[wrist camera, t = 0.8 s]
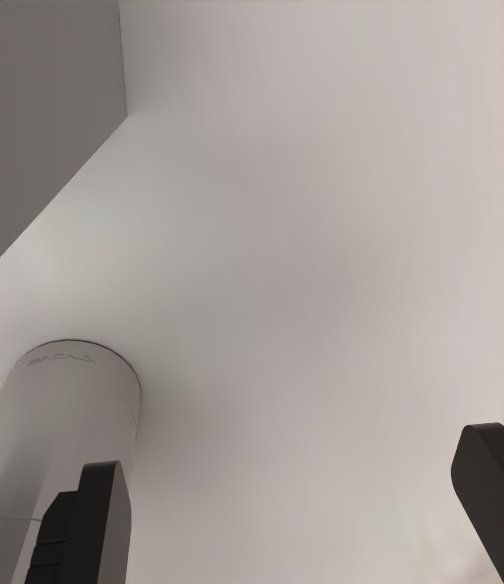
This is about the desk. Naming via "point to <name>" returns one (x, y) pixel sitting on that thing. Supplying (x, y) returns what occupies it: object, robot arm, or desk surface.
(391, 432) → the desk surface
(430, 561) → the desk surface
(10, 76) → the grey upright pillar
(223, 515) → the desk surface
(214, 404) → the desk surface
